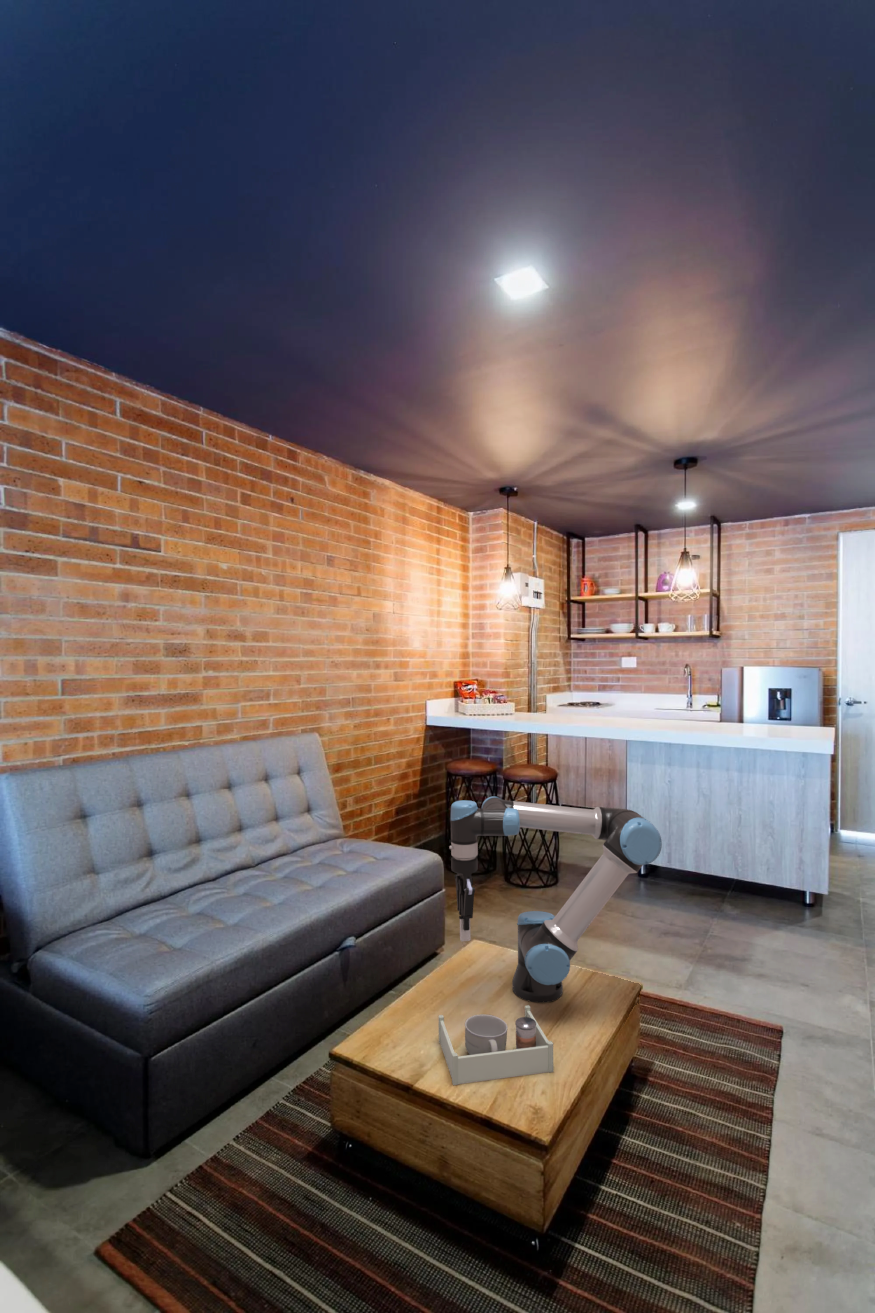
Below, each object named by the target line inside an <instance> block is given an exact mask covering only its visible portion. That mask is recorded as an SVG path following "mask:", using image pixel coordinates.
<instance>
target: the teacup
mask: <svg viewBox="0 0 875 1313" xmlns="http://www.w3.org/2000/svg"><path fill="white" fill-rule="evenodd" d="M507 1037H508V1024H507V1022H506V1021H505V1020H503V1019H502V1018H500V1017H498V1016H496V1015H491V1014H483V1013H481V1014H474V1015H472V1016H470V1017H468V1018H467V1019H466V1020H465V1022H464V1043H465V1049H466V1052H467V1053H468V1055H475V1054H483V1053H490V1052H498V1051H506V1050H507V1049H506V1048H507V1039H508V1038H507Z"/></svg>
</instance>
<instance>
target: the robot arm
mask: <svg viewBox="0 0 875 1313" xmlns="http://www.w3.org/2000/svg"><path fill="white" fill-rule="evenodd" d="M520 828H523V829H525V828H526V829H534V830H543V831H544V830H545V831H551V832H561V833H562V832H563V833H569V834H570V833H571V834H579V835H580V834H581V835H587V836H588V835H589V836H592V837H593V839H594V840H602V841H604V843H603V844H602V850H603V852H602V854H601V856H600V857H599V858H598V860H597V861H596V862H595V864H594V865H593V866H592V868H591V869H590V870H589V872H588V873H587V874H586V876H585V877H584V878H583V880H582V881H581V882H580V883H579V884H578V886H577V887H576V889H575V890H574V891H573V892H572V894H571V895H570V897H569V898H568V899H567V900H566V902H565V903H564V904H563V906H561V908H560V910H559V911H558V912H557V914H553V913H551V912H548V911H541V910H530V911H524V912H521V913H520V914H519V915H518V916H517V923H516V925H517V965H516V969H515V972H514V974H513V978H512V983H511V984H512V986H511V987H512V992H513V993H514V995H516V997H518V998H520V999H522V1000H525V1001H528V1002H532V1003H551V1002H555V1001H556V1000H558V999H559V998H561V997H562V995H563V987H564V986H563V981H564V980H565V979H566V978H567V976H568V975H569V972H570V969H571V960H572V959H573V957H574V956H575V955H576V953H577V952H578V951H579V946H578V941H579V940H580V939H581V937H582V936H583V935H584V933H585V931H586V930H587V929H588V928H589V926H590V925H591V924H592V923H593V921H594V920H595V918H596V917H597V916H599V913H600V912H601V911H602V910H603V909H604V907H605V905H607V903H608V902H609V900H610V899H611V897H612V896H613V895H614V894H615V892H617V890H618V888H619V887H620V886H621V884H622V883H623V882H624V881H625V879H626V878H627V876H629V875H630V874H637V873H638V872H639V871H640V869H641V868H642V867H643V866H644V865H649V864H651V863H653V862H655V861H656V859H657V858H659V856H660V855H661V851H662V848H663V842H662V841H663V840H662V835H661V833H660V832H659V830H658V828H656V826H655V825H654V824H653V823H652V822H651V821H650V820H648V819H646V818H645V817H643V816H642V815H641V814H639V813H638V812H636V811H634V810H632V809H627V808H617V807H604V806H603V807H602V806H596V807H595V808H593V809H590V808H582V807H581V808H580V807H573V806H572V807H570V806H563V805H562V806H561V805H552V804H544V803H537V802H536V803H533V802H525V801H515V800H506V799H502V798H500V797H498V796H489V797H487V798H485V799H484V801H483V802H482V805H481V807H478V804H477V802H475V801H474V800H473V801H472V800H467V799H466V800H465V799H464V800H456V801H454V802H453V803H452V804H451V806H450V843H451V845H449V846H448V847H449V848H448V849H449V850H450V851H451V852H450V853H451V856H452V857H451V858H450V862H451V864H450V865H451V866H450V868H451V871H452V872H454V873H455V874H454V880H455V891H456V904H457V905H456V906H457V907H456V908H457V911H458V914H459V916H458V919H459V940H460V942H468V941H471V919H473V917H474V903H475V902H474V900H475V894H476V888H475V887H473V885H474V879H473V877H472V874H474V873H476V872H477V871H478V870H479V868H478V867H479V866H478V864H479V863H478V855H479V851H478V850H479V849H478V848H479V847H478V846H479V845H478V837H479V836H480V837H481V836H485V837H487V836H489V837H490V836H491V837H493V836H494V837H495V836H496V837H497V836H501V837H502V836H505V837H509V836H516V835H519V833H520Z"/></svg>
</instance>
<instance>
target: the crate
mask: <svg viewBox="0 0 875 1313" xmlns="http://www.w3.org/2000/svg"><path fill="white" fill-rule="evenodd" d="M524 1017H529V1018H532V1019H533V1020H535V1022H536V1047H530V1048H522V1049H516V1048H514V1049H505V1051H498V1052H490V1053H483V1054H475V1055H470V1054H468V1055H458V1053H457V1052H455V1050H454V1047H453V1044H452V1042H451V1039H450V1035H449V1033H448V1030H447V1027H446V1025H445V1017H444V1015H443V1014H439V1015H438V1043H439V1045H440V1047H441V1050H442V1053H443V1056H444V1059H445V1062H446V1066H447V1069H448V1072H449V1074H450V1077H451V1083H452V1085H453V1086H458V1085H462V1084H463V1085H464V1084H469V1083H476V1082H486V1081H492V1080H493V1081H494V1080H499V1079H508V1078H514V1077H522V1076H530V1075H536V1074H543V1073H544V1074H545V1073H549V1074H550V1073H554V1043H553V1042H552V1040H550V1041H549V1039H548V1037H547V1036H546V1034H545V1033H544V1031H543V1030H542V1028H541V1026H540V1025H539V1023H538V1021H537V1020H536V1018H535V1017H534V1015H533V1013H532V1011H531V1006H530V1005H529V1004H528V1005H524Z"/></svg>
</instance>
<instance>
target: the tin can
mask: <svg viewBox="0 0 875 1313" xmlns="http://www.w3.org/2000/svg"><path fill="white" fill-rule="evenodd" d="M535 1020H536V1019H535ZM535 1020H533V1019H532V1018H529V1017H525V1016H522V1017H519V1018H516V1019H515V1049H522V1048H530V1047H536V1022H535Z"/></svg>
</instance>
